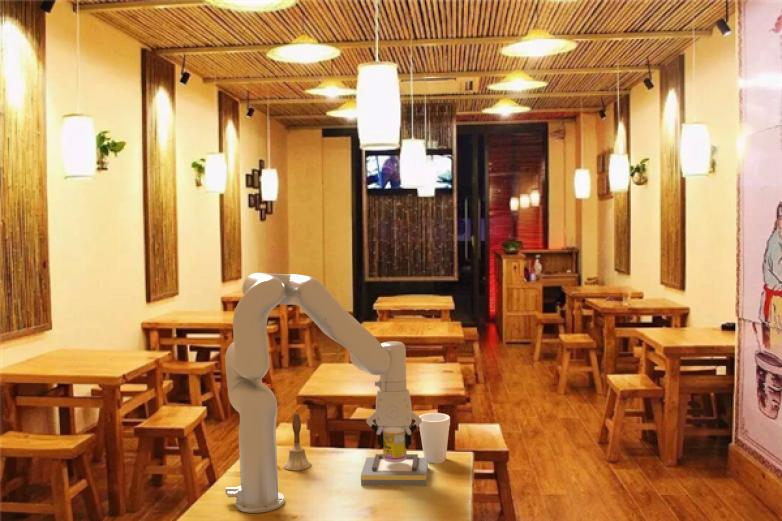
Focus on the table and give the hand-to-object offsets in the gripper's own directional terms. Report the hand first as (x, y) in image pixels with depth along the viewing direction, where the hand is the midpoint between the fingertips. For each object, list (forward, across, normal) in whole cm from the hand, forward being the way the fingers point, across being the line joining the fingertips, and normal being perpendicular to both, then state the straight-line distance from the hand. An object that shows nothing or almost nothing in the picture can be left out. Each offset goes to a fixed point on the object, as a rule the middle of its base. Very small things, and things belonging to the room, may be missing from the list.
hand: (394, 446), depth 207 cm
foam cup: (+8, +11, +13) cm, 19 cm away
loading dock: (+8, 0, -1) cm, 8 cm away
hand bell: (+9, -30, +7) cm, 32 cm away
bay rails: (+5, 0, +1) cm, 5 cm away
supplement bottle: (+4, 0, 0) cm, 4 cm away
